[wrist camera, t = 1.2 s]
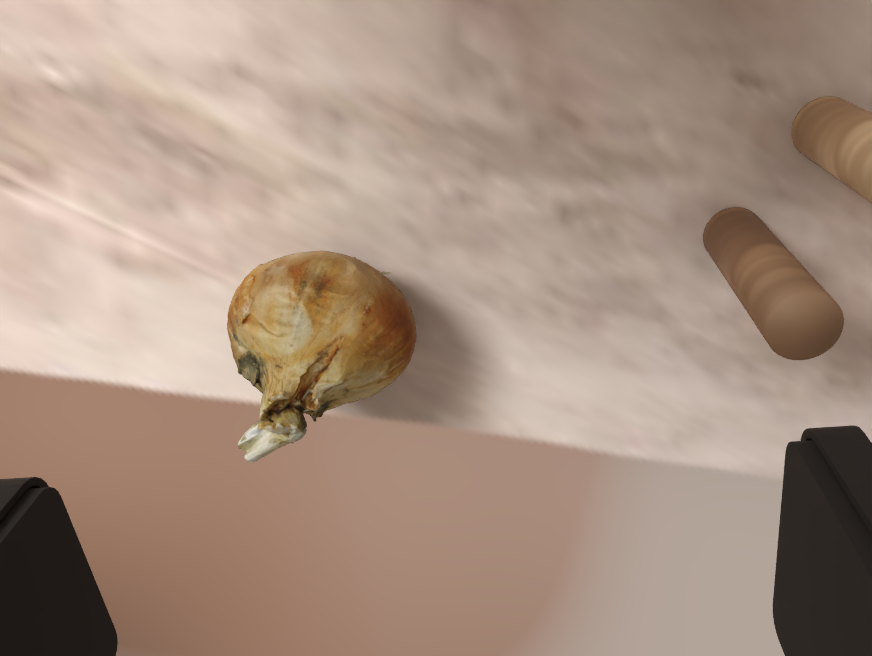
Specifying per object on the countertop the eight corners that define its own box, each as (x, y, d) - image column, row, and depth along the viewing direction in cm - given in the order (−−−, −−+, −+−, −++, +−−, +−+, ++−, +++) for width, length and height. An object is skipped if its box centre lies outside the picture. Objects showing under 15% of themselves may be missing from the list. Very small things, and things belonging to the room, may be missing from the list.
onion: (436, 366, 38) (421, 466, 31) (274, 386, 39) (222, 487, 32) (406, 213, 35) (380, 284, 27) (230, 239, 36) (161, 314, 29)
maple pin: (792, 101, 31) (892, 157, 23) (857, 92, 31) (981, 145, 23) (791, 162, 32) (886, 235, 24) (853, 153, 32) (972, 225, 24)
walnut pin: (702, 211, 34) (765, 297, 25) (762, 203, 33) (845, 288, 25) (703, 264, 35) (765, 363, 26) (761, 257, 34) (841, 355, 26)
